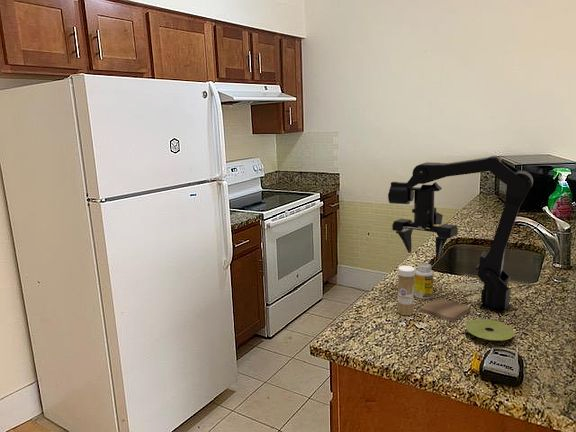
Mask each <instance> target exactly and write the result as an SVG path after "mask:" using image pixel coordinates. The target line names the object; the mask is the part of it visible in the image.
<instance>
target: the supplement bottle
mask: <svg viewBox="0 0 576 432" xmlns="http://www.w3.org/2000/svg"><path fill="white" fill-rule="evenodd" d="M434 273H435V272H434V271H433V270H432V264H430V263H427V262H420V263H417V269H415V275H414V297H415V298H417V299H421V300H429V299H431V298H432V297H433V296H434V295H433V294H434V293H433V292H434Z"/></svg>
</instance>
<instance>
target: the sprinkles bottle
mask: <svg viewBox="0 0 576 432" xmlns="http://www.w3.org/2000/svg"><path fill="white" fill-rule="evenodd" d="M415 270H416V268H414V266H410V265H401V266H398V269H397V275H398V281H397V282H398V284H397V310H396V311H397V313H398V314H399V315H402V316H412V315H413V314H414V302H415V301H414V297H415V295H414V280H415Z"/></svg>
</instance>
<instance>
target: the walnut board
mask: <svg viewBox="0 0 576 432" xmlns="http://www.w3.org/2000/svg"><path fill="white" fill-rule="evenodd" d="M471 308H472V307H471V306H469V305H465V304H462V303H458V302H455V301H453V300H452V301H451V300H448V299H445V298H442V297H437V298H435V299H433V300H432V301H429V302H428V303H425V304H424V305H422V306H420V308H419V311H420V312H422V313H425V314H428V315H431V316H435V317H437V318H439V319H442V320H445V321H449V322H451V323H454V322H455V321H457V320H458V319H460V318H462V317H463V316H465V315H466V314H467V313H469V312H470V311H471V310H472V309H471Z"/></svg>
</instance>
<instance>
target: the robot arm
mask: <svg viewBox="0 0 576 432" xmlns="http://www.w3.org/2000/svg"><path fill="white" fill-rule="evenodd" d="M486 172H489V173H491V174H492V175H493V176H495V177H496V178H497V179H498V180H500V181H501V182H502V183H503V184H505V185H506V190H505V199H504V200H505V201H504V206H503V209H502V212H501V216H500V218H499V220H498V221H499V222H498V225H497V228H496V231H495V233H494V236H493V239H492V243H491V246H490V248H489V251H488V252H487V251H485V250H483V252H482V253H481V255H480V257H479V263H478V265H477V266H476V268H475V270H476V271H477V277H478V279H479V280H480V281H481V282H482V283H483V288H482V289H481V297H480V304H479V307H480V308H484V309H487V310H490V311H493V312H497V313H500V314H503V313H505V312H506V311H507V310H509V309H510V308H512V303H511V304H510V299H511V287H508V286H509V284H510V280H511V276H510V275H509V274H508V273H507V272H506V271H505V270H504V262H505V250H506V248H507V245H508V242H509V240H510V236H511V234H512V231H513V228H514V225H515V222H516V220H517V216H518V213H519V211H520V208H521V206H522V204H523V203H524V201H525V199H526V198H527V196H528V194H529V193H530V190H531V189H532V187H533V185H534V178H533V176H532V174H531V173H529V172H528V171H526V170H519V169H517V168H516V167H515V166H512V165H511V164H509V163H508V162H506V161H504V160H502V158H501V157H500V156H497V155H492V156H488V157H482V158H481V157H480V158H475V159H469V160H461V161H455V162H446V163H445V162H432V161H431V162H428V161H427V162H424V163H421V164H420V163H419V164H418V165H415V167H414V168H413V169H412V176H411V177H410V178H409V180H408V181H407V182H405V181H404V182H403V181H401V182H400V181H392V182H390V187H389V190H388V193H387V199H388V200H387V201H388V203H389V204H395V205H410V203H411V202H413V205H414V206H413V208H412V210H411V212H412V213H413V221H412V220H411V219H408V218H400V219H397V220H394V221H393V222H392V224H391V229H392V231H395V233H396V234H398V236H399V237H400V239H401V240H402V242H403V245H404V246H405V248H406V250H407V253H408V254H411V253H412V234H413V230H414V231H415V230H416V231H424V232H431V233H436V235H437V236H435V256H436V258H437V259H438V258H439V257H440V256H441V255H442V254H441V253H442V251H443V249H444V246H445V244H446V243H447V241H448V240H449V239H451V238H453V237H455V236H457V235H458V234H459V232H458V230H459V228H458V227H457V225H456V224H452V223H451V224H450V223H443V224H442V221H443V218H444V217H443V214H441V213H439V212H438V211H437V208H436V207H435V192H439V191H441V190H442V186H440V185H439V184H438V183H437V182H435V181H439V180H440V179H444V178H448V177H453V176H455V177H456V176H460V175H461V176H463V175H471V174H479V173H486ZM431 182H433V183H432V184H428V183H431ZM420 184H421V186H419V187H417V186H418V185H420ZM438 225H439V226H438Z"/></svg>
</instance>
